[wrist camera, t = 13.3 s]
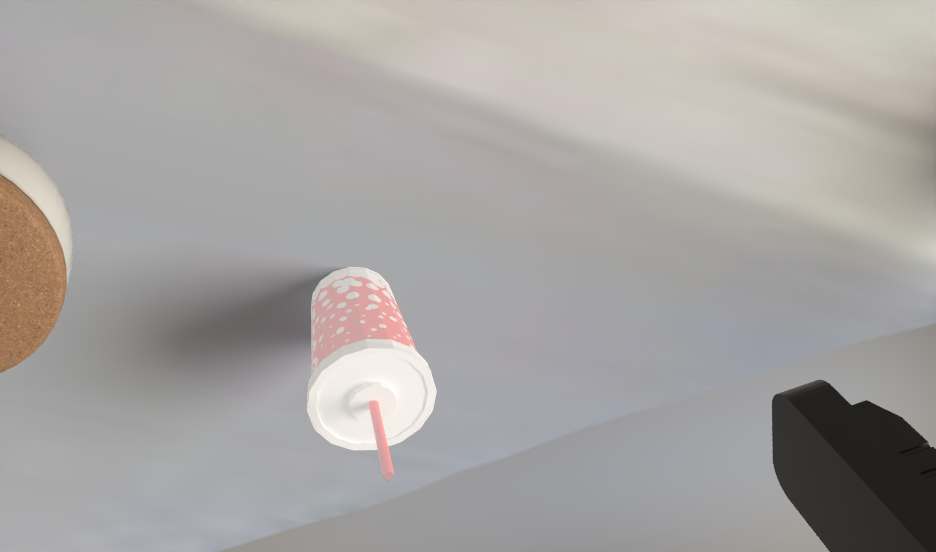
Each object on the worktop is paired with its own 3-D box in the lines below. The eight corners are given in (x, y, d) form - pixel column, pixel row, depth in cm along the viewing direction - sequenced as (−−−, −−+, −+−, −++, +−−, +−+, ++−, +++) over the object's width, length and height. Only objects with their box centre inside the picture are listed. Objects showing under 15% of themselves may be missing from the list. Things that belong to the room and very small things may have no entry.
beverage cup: (314, 243, 42) (340, 408, 31) (420, 268, 45) (481, 430, 33) (283, 336, 45) (296, 522, 33) (385, 354, 47) (430, 535, 35)
